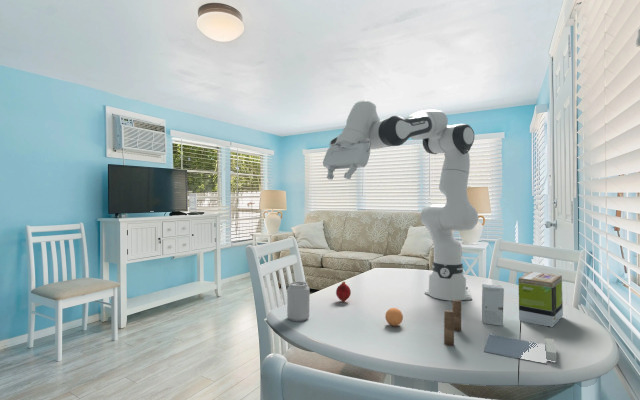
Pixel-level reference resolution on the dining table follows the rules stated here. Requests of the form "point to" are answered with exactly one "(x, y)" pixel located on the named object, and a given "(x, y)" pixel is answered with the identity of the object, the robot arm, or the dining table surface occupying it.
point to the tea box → (540, 298)
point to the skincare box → (492, 304)
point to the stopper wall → (550, 349)
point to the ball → (394, 316)
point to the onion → (343, 292)
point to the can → (298, 301)
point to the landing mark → (507, 346)
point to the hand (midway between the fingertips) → (337, 178)
